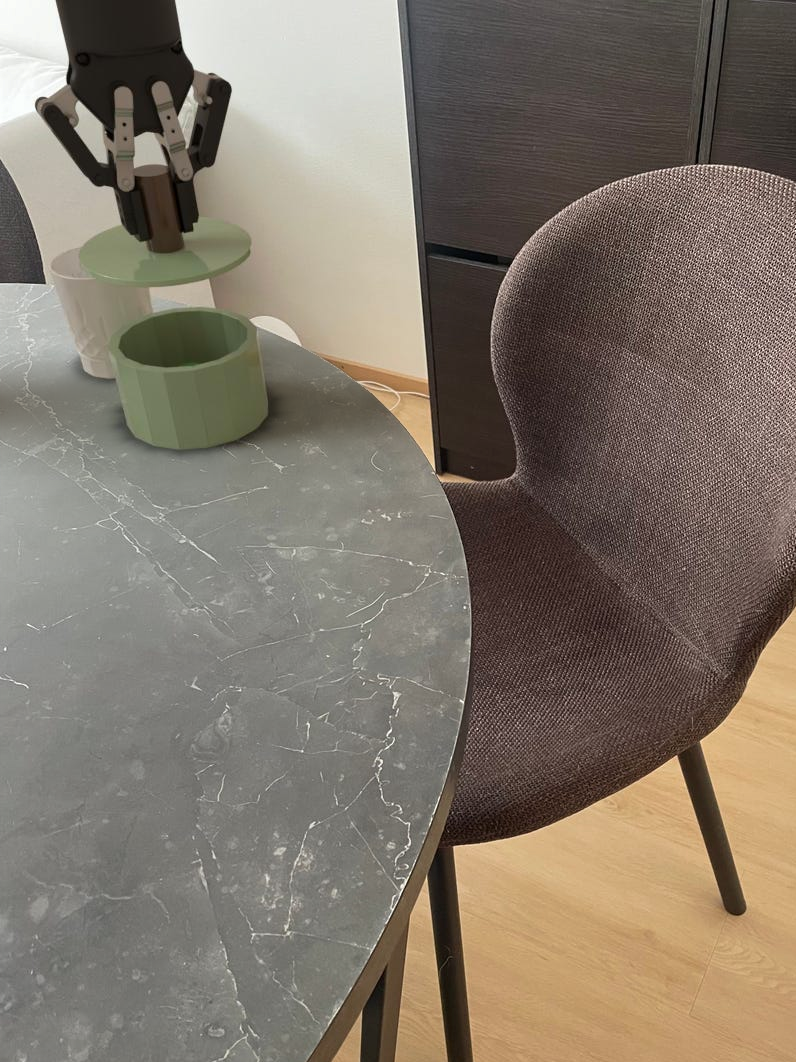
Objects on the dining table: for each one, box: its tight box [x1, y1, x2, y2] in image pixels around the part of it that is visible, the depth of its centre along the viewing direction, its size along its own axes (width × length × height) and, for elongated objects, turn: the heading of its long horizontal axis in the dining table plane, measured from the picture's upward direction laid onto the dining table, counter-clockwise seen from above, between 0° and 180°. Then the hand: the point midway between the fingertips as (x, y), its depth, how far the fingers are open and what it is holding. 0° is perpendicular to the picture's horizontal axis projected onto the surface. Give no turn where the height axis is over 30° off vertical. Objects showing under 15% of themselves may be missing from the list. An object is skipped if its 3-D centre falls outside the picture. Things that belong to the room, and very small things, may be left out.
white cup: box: [48, 245, 155, 380], centre depth 92 cm, size 8×8×10 cm
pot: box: [108, 306, 269, 451], centre depth 86 cm, size 12×12×8 cm
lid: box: [78, 163, 253, 288], centre depth 77 cm, size 13×13×7 cm
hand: (162, 232), depth 78 cm, fingers closed on lid, 3 cm apart
